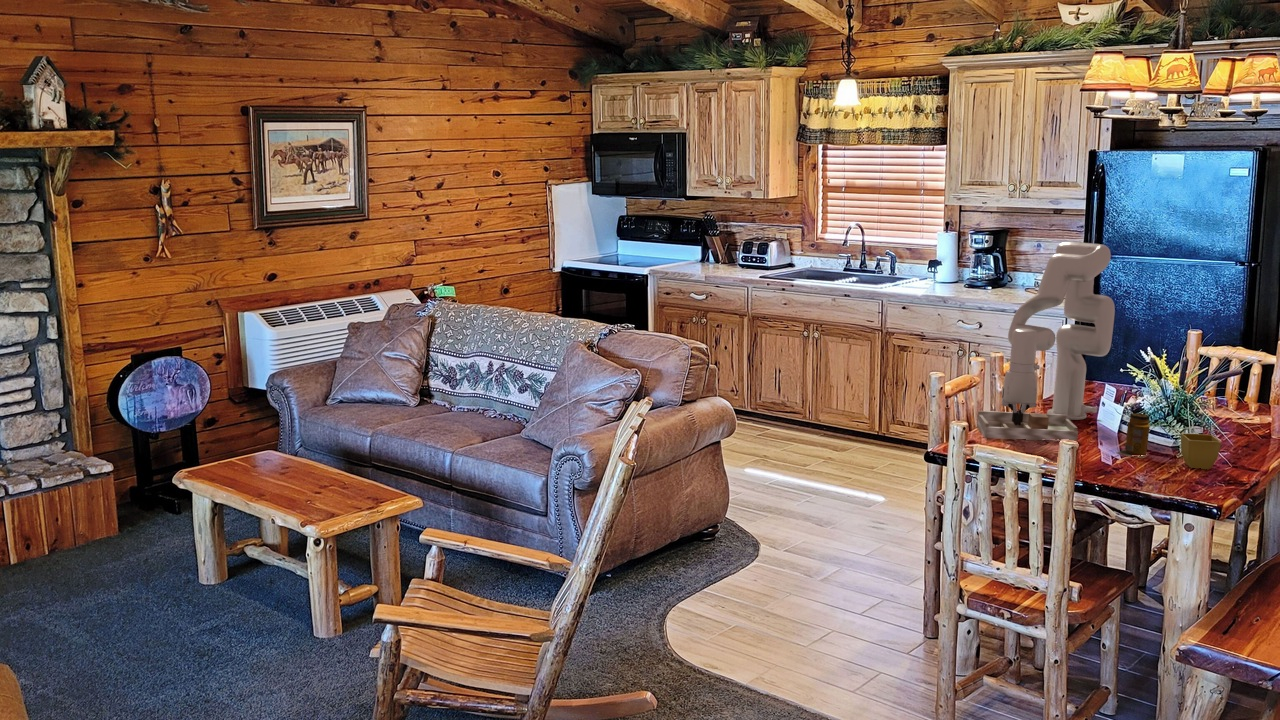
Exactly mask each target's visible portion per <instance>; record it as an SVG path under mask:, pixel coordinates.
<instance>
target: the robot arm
mask: <svg viewBox="0 0 1280 720" xmlns="http://www.w3.org/2000/svg"><path fill="white" fill-rule="evenodd" d="M1111 255H1112V254H1111V250H1110V248H1109V247H1108V246H1107V245H1105V244H1100V243H1091V242H1081V241H1080V242H1078V241H1062V242H1061V243H1059V244H1058V245H1056V249H1055V253H1054V254H1053V255H1051V256H1050V257H1049V259H1048V261H1047V263H1046V265H1045V269H1044V271H1043V275H1042V278H1041V281H1040V283H1039V286H1038V289H1037V292H1036V294H1034V295H1033V296H1032V297H1030V298H1028V299H1027V300H1026V301H1025V302H1024V303H1023V304H1021V306H1020V307H1019V308H1018V309H1017V310H1016V311H1015V313H1014V315H1013V317H1012V320H1011V324H1010V325H1009V329H1008V335H1007V339H1008V343H1009V344H1010V345H1011V346H1010V347H1011V348H1010V359H1009V368H1008V369H1009V370H1006V371H1005V374H1004V378H1003V383H1002V384H1003V385H1002V390H1001V402H1000V404H1001V405H1002V407H1006V408H1007V407H1008V408H1009V409H1010V410H1011V412H1013V414H1012V422H1013V423H1014V424H1015V425H1021V422H1023V413H1026V412H1027V410H1029V409H1032V408H1036V407H1037V399H1038V396H1037V395H1038V379H1037V377H1038V376H1037V373H1036V371H1037V370H1039V369H1040V365H1039V364H1036V356H1037V352H1046V351H1048V350H1050V349H1051V348H1053V346H1054V345H1055V343H1056V353H1057V355H1056V368H1055V378H1054V389H1053V400H1052V408H1050V409H1047V412H1046V414H1062V415H1068V418H1067V419H1069V420H1070V421H1073V420H1074V421H1079V420H1084V419H1087V413H1097V412H1098V407H1096V406H1092V405H1085V404H1084V394H1085V385H1086V375H1087V364H1086V360H1085V359H1084V357H1083V355H1086V356H1093V357H1105V356H1107V355H1108V353H1109V352H1110V350H1111V347H1112V340H1113V332H1114V323H1115V313H1116V310H1115V308H1116V307H1115V303H1114V301H1113V299H1112V298H1111V297H1110V296H1107V295H1105V294H1104V295H1102V294H1095V293H1094V284H1095V283H1094V282H1095V277H1097V276H1098V275H1100V274H1101V273H1102V272H1104V271H1105V269H1107V267H1108V266H1109V264H1110V261H1111V258H1112V256H1111ZM1063 303H1064V304H1063ZM1062 304H1063V305H1064V306H1063V313H1064V316H1065V318H1066V319H1068V320H1071V321H1075V322H1076V321H1077V322H1082V323H1089V324H1091V323H1092V324H1094V326H1088V325H1082V324H1074V323H1073V324H1072V323H1071V324H1069V323H1068V324H1064V325H1062V326H1060V327H1059V328H1058V330H1057V332H1056V333H1055V332H1054V331H1053V330H1052V329H1050V328H1049V327H1044V326H1037V325H1031V324H1026V323H1027V322H1028V321H1029V319H1030V318H1031V317H1032V316H1034V315H1035V314H1037V313H1040V312H1042V311H1046V310H1049V309H1051V308H1055V307H1058V306H1060V305H1062ZM1018 405H1019V409H1018Z"/></svg>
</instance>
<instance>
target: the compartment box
mask: <svg viewBox="0 0 1280 720" xmlns="http://www.w3.org/2000/svg"><path fill="white" fill-rule="evenodd" d="M1029 413H1030V412H1025V413H1023V422H1021V425H1015V424H1014V423H1013V422H1012V414H1013V411H997V410H996V411H995V410H994V411H993V410H992V411H991V410H978V411H977V418H976V419H977V422H976V428H977V429H978V431H979V432H980V433H981V435H982V436H983V437H984V438H985V439H997V440H999V439H1000V440H1001V439H1002V440H1016V439H1026V440H1025V441H1037V440H1042V439H1045V440H1046V439H1047V440H1050V439H1055V440H1057V439H1059V440H1061V439H1069V440H1075V441H1077V442H1078V436H1079V431H1078V427H1077V426H1076V425H1075V423H1073V422H1072V420H1069V419H1067V418H1068V415H1062V414H1047V413H1045V414H1046V415H1047V416H1048V417H1049V422H1048V429H1031V428H1030V427H1029V426H1028V418H1029ZM1038 414H1041V413H1038ZM1058 442H1059V441H1058ZM1059 443H1060V442H1059Z"/></svg>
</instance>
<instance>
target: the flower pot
mask: <svg viewBox="0 0 1280 720" xmlns="http://www.w3.org/2000/svg"><path fill="white" fill-rule="evenodd" d="M1221 446H1222V441H1221V440H1219V439H1218V438H1217V437H1216V436H1214V435H1212V434H1200V433H1184V432H1181V433H1180V449H1181V450H1180V451H1181V456H1182V458H1183V460H1184V461H1183V462H1184V463H1185V465H1186V466H1188V467H1189V468H1190V467H1191V468H1190V469H1192V468H1201V469H1200V470H1206V469H1207V470H1210V469H1211V468H1212V467H1213V466H1215V465H1214V464H1216V461H1217V460H1218V457H1219V453H1220V449H1221Z"/></svg>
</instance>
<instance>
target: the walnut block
mask: <svg viewBox="0 0 1280 720" xmlns="http://www.w3.org/2000/svg"><path fill="white" fill-rule="evenodd" d="M1028 413H1029V418H1028V426H1029V427H1030V428H1031V429H1048V422H1049V417H1048V416H1047V415H1046V414H1047V413H1040V414H1038V413H1036V412H1034V413H1033V412H1028Z"/></svg>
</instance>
